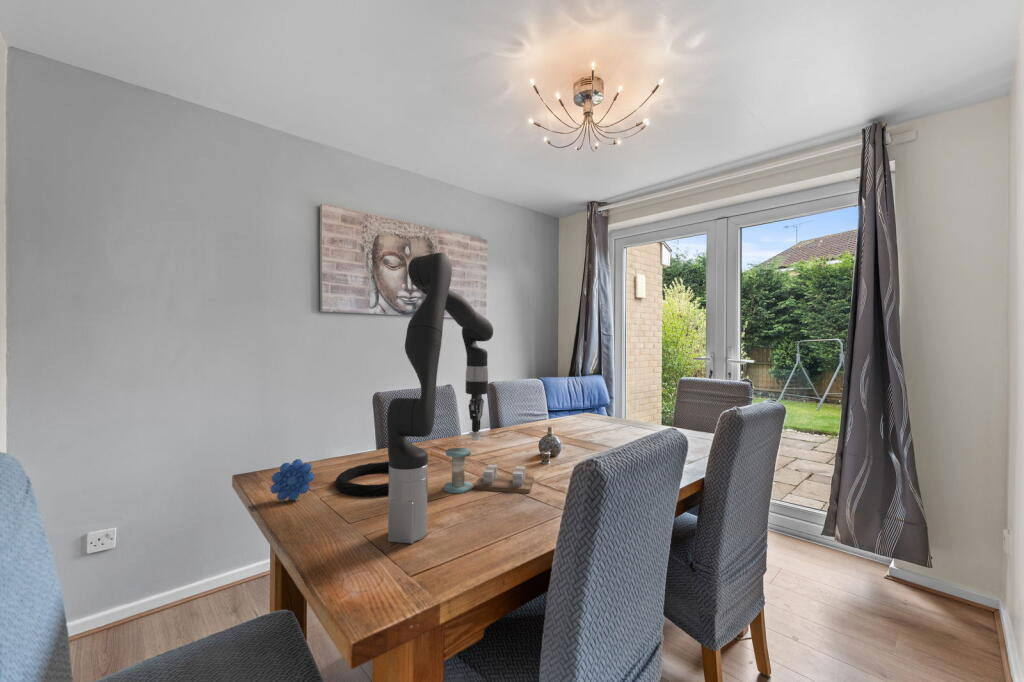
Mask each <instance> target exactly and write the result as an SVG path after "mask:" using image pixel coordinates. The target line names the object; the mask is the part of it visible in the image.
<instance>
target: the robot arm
mask: <svg viewBox="0 0 1024 682" xmlns="http://www.w3.org/2000/svg"><path fill="white" fill-rule="evenodd" d="M407 273H408V277H409V279H410V281H411V283H412V284H413V285H414V286H415V287H416V288H417V289H418V290H419V291H421V292H422V294H425V297H424V300H423V301H422V302H421V304H420V305H419V307H417V309H416V310H415V311H414V314H413V315H412V316H411V318H410V320H409V323H407V324H408V325H407V328H406V336H405V341H404V342H405V343H404V351H405V354H406V357H407V359H408V360H409V362H410V364H411V366H412V368H413V370H414V371H415V373H416V376H417V378H418V380H419V384H420V398H418V397H415V398H414V397H413V398H411V397H398V398H397V397H395V398H393V399H392V400H391V401H390V402H389V404H388V407H387V412H386V432H387V434H386V435H387V455H388V462H389V472H388V483H389V495H388V503H387V504H388V510H387V511H388V512H387V513H388V516H387V518H388V519H387V520H388V523H387V527H388V528H387V542H391V543H403V544H414V542H417V541H420V540H422V539H424V538H425V537H426V536H427V534H428V470H429V469H428V464H429V463H428V462H429V461H428V460H429V457H428V456H429V455H428V452H427V451H426V450H425V449H423V448H421V447H419V446H416V445H414V444H413V443H412V442H410V441H409V440H408V439H407V437H412V438H415V437H416V438H425V437H428V436H430V435H431V433H432V432H433V429H434V425H435V418H436V400H437V398H436V397H437V379H438V378H437V377H438V371H439V370H438V369H439V362H440V360H439V359H440V354H441V348H442V342H443V341H442V339H443V329H444V328H443V327H444V320H445V313H446V312H447V313H448V315H450V317H451V318H452V319H453V320H454V322H456V323H457V325H458V326H460V327H461V336H462V340H463V344H464V348H465V352H466V369H465V393H466V394H467V395H471V396H470V399H469V404H468V411H469V420H470V421H471V432H478V431H479V432H480V430H481V419H482V417H483V415H484V413H483V411H484V402H485V400H484V399H483V395H487V394H488V393H489V392H488V391H489V370H488V351H487V350H486V349H485V348H481V347H479V346H478V344H477V342H487V341H490V340H492V337H493V335H494V327H493V325H492V323H491V322H490V320H489V319H487V318H486V317H484V315H482V314H481V313H479V312H477V311H476V310H475V309H474V308H473V306H472V305H471V304H470V303H469V301H468V300H467V299H466V298H465V297H463V296H462V295H460V294H459V293H456V292H454V291H452V290H451V289H450V287H451V281H452V275H453V274H452V273H453V270H452V262H451V260H450V258H449V256H448V255H447V254H446V253H443V252H435V253H429V254H426V255H425V254H424V255H421V256H417V257H414V258H412V259H410V261H409V263H408V267H407ZM477 410H478V411H477ZM474 414H475V415H476V416H474Z"/></svg>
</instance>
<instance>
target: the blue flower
mask: <svg viewBox="0 0 1024 682" xmlns="http://www.w3.org/2000/svg"><path fill="white" fill-rule="evenodd" d="M312 467H313V466H312V464H311V463H310V462H305V463H303V461H302V459H301V458H297V459H295V460H293V461H292V462H291V463H290V462H284V463H282V464H281V465H280V467H279V471H276V472H274V473H273V474H272V476H271V482H273V484H272V485H271V487H270V492H271V494H274V495H275V494H276V495H277V496H276V499H277V500H278V501H284V500H286V499H287V498H288V499H289V500H290V501H296V500H297V499H298V498H299V497H300V494H306V493H307V492H309V490H310V486H311V485H310V483H312V482H313V481H314V479H315V473H314V472H311V470H312Z"/></svg>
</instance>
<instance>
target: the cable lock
mask: <svg viewBox="0 0 1024 682" xmlns="http://www.w3.org/2000/svg"><path fill="white" fill-rule="evenodd" d="M379 473H389V461H383V462H374V463H372V462H370V463H366V464H359V465H357V466H356V465H355V466H353V467H350V468H347V469H346V470H344V471H342V472H340V473H339V475H338V476H337V477H335V478H336V479H335V481H334V484H335V488H336V489H337V490H338V491H339V492H341V493H343V494H346V495H350V496H355V497H363V498H364V497H368V498H370V497H374V498H375V497H381V496H389V482H387V483H386V482H385V483H380V484H360V483H354V482H351V481H350V480H353V479H354V478H357V477H361V476H365V475H369V474H379Z"/></svg>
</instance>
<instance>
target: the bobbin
mask: <svg viewBox="0 0 1024 682" xmlns="http://www.w3.org/2000/svg"><path fill="white" fill-rule="evenodd" d="M471 455H472V450H471V449H470V448H468V447H452V448H448V449H446V450H445V456H446V457H450V458H451V459H452V460H451V481H448V482H446V483H444V485H443V490H444V492H447V493H449V494H466V493H469V492H470V491H472V490H473V483H472V482H470V481H466V480H465V478H466V477H465V469H466V464H465V463H466V462H465V461H466V459H465V458H466V457H470V456H471Z"/></svg>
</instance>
